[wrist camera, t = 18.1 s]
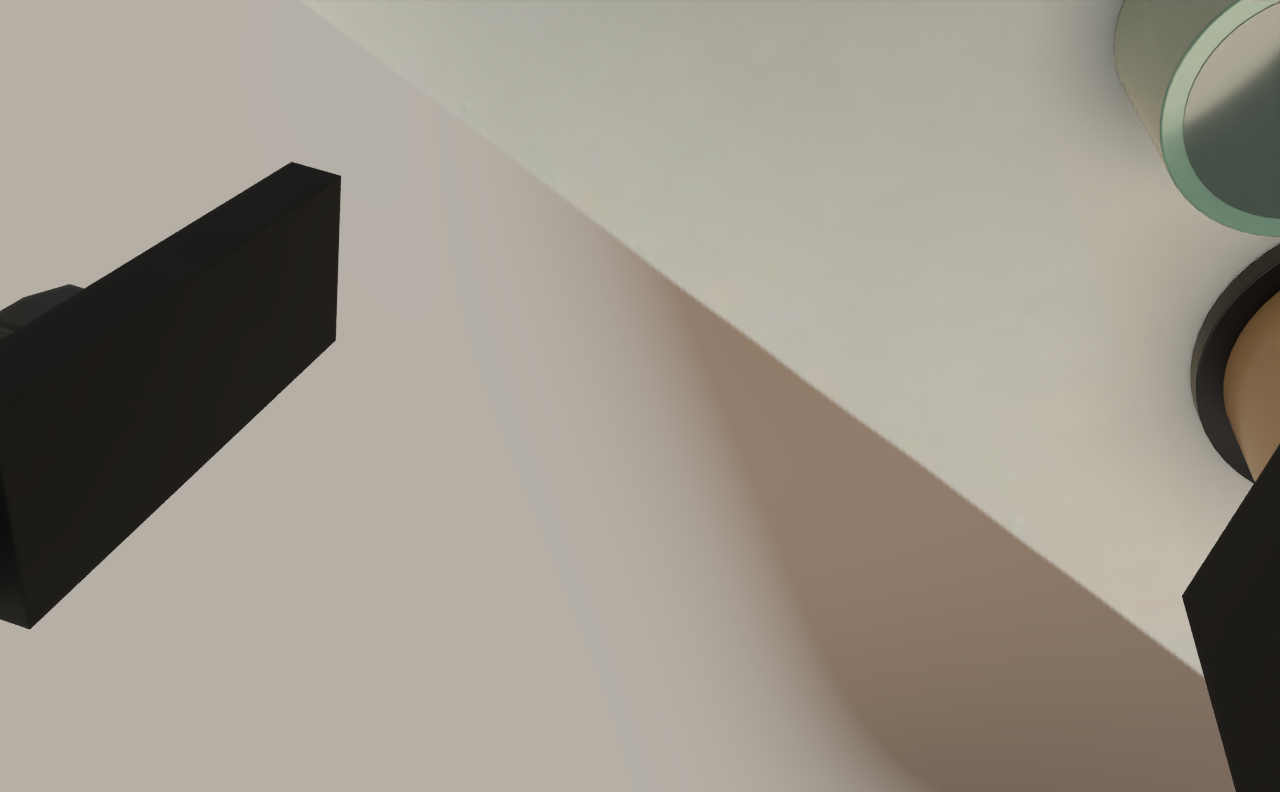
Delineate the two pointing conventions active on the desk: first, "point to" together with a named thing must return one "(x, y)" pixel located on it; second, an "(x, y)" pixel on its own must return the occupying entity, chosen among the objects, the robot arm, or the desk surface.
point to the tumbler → (1209, 101)
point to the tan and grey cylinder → (1242, 369)
